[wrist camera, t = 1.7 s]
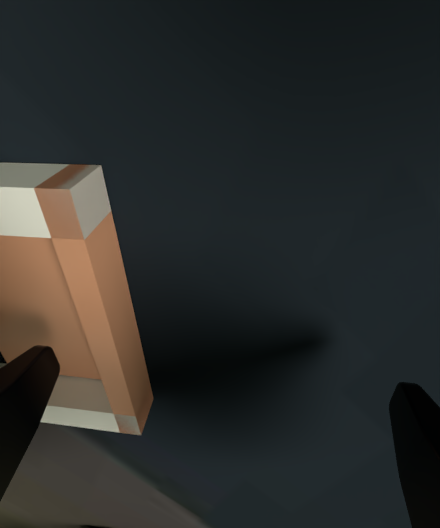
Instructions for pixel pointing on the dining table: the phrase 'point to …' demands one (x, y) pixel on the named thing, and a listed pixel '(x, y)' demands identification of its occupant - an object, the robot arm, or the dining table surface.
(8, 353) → the channel
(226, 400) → the dining table surface
